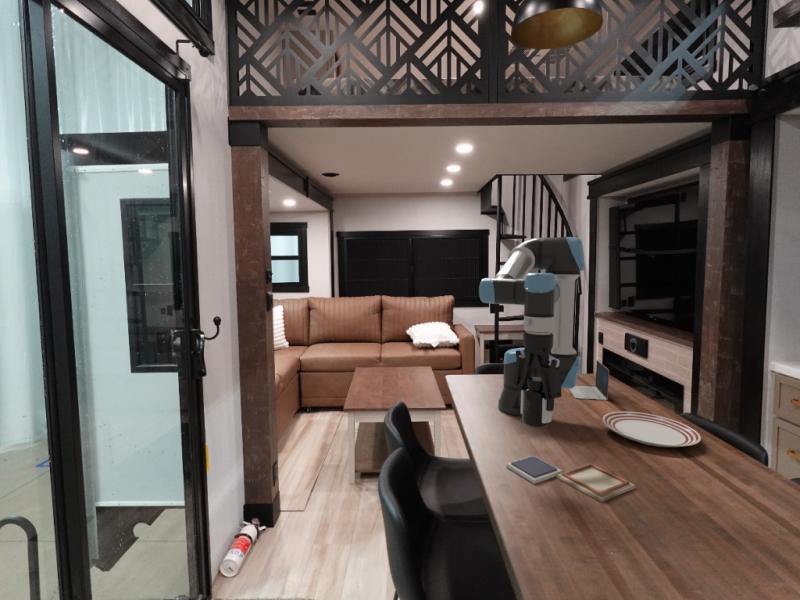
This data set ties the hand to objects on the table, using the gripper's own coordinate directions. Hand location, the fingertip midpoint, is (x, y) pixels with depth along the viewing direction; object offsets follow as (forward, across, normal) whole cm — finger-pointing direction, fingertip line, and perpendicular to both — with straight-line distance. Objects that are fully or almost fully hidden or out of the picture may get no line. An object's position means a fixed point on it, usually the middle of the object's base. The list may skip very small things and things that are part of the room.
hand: (535, 417), depth 112 cm
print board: (+15, +12, +9) cm, 21 cm away
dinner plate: (+15, +1, +51) cm, 53 cm away
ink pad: (+15, 0, 0) cm, 15 cm away
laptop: (+15, -38, +71) cm, 82 cm away
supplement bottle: (+2, 0, 0) cm, 2 cm away
